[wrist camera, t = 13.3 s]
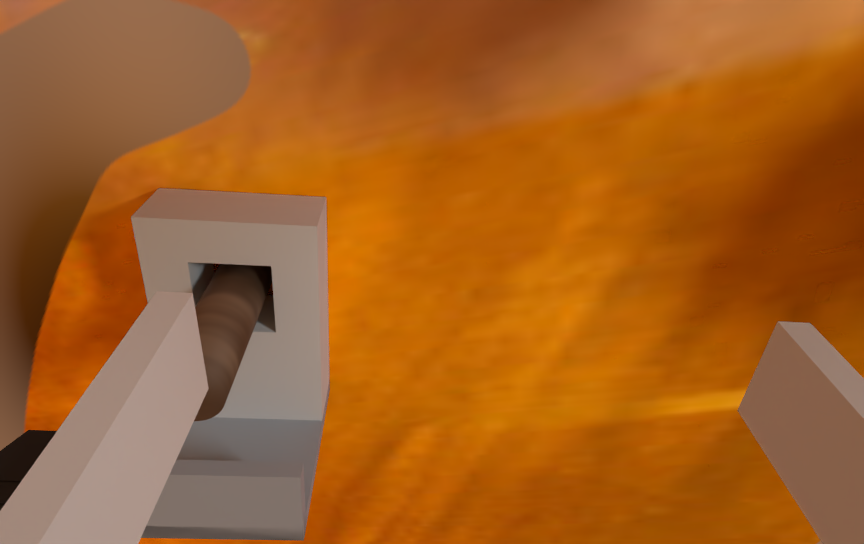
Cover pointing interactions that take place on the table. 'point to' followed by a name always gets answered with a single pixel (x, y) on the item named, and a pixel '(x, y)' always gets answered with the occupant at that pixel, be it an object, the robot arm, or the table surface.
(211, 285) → the dowel
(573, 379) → the table surface
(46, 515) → the robot arm
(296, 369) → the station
